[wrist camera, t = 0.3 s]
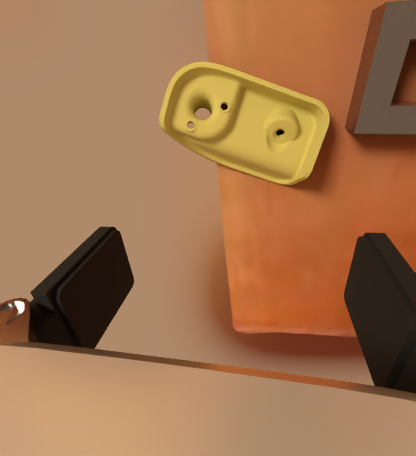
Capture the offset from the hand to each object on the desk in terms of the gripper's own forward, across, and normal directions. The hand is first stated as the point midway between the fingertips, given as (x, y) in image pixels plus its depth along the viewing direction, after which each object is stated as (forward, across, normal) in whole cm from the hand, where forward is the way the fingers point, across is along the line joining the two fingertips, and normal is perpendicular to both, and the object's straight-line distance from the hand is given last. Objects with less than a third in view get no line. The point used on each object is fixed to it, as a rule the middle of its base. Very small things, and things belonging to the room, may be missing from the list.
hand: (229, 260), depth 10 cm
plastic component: (+31, +1, -1) cm, 31 cm away
